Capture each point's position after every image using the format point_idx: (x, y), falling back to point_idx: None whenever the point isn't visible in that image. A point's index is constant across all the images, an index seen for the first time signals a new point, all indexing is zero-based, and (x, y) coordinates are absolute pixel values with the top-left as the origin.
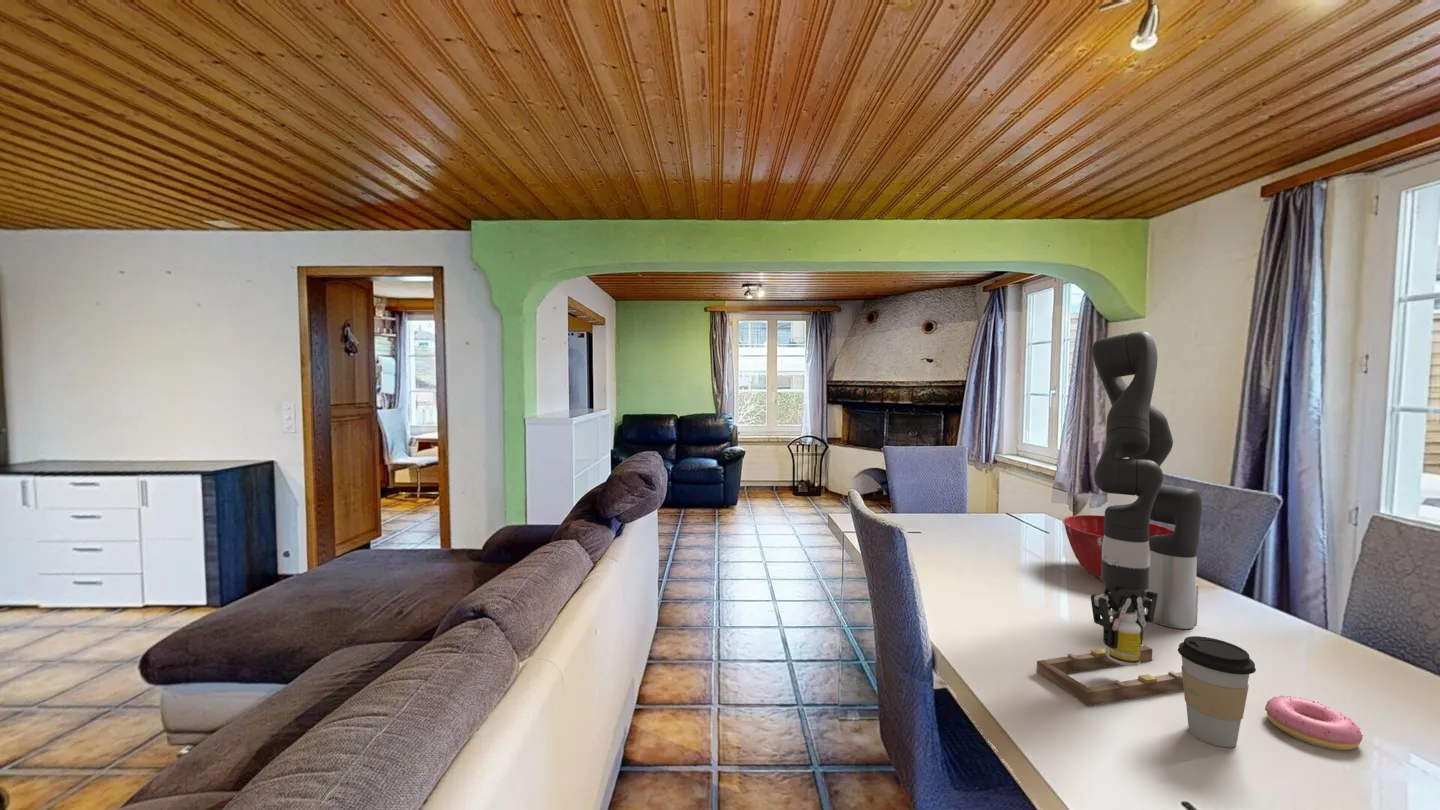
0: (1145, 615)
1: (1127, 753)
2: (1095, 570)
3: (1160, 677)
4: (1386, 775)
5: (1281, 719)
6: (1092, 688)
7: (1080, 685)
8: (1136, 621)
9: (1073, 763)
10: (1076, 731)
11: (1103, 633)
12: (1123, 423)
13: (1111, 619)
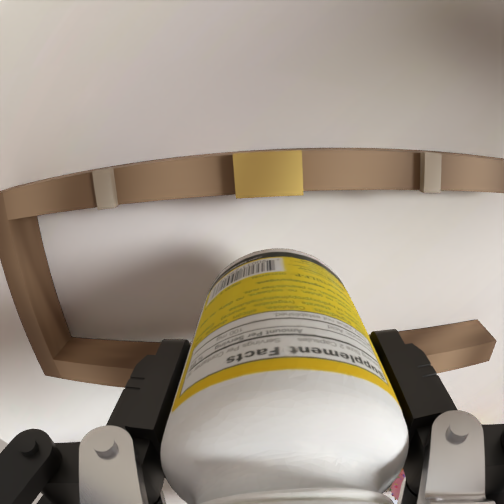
0: (495, 490)
1: (70, 441)
2: None
3: None
4: (396, 501)
5: (399, 481)
6: (62, 368)
7: (39, 348)
8: (416, 476)
9: (3, 418)
10: (18, 389)
11: (120, 396)
12: None
13: (197, 472)
